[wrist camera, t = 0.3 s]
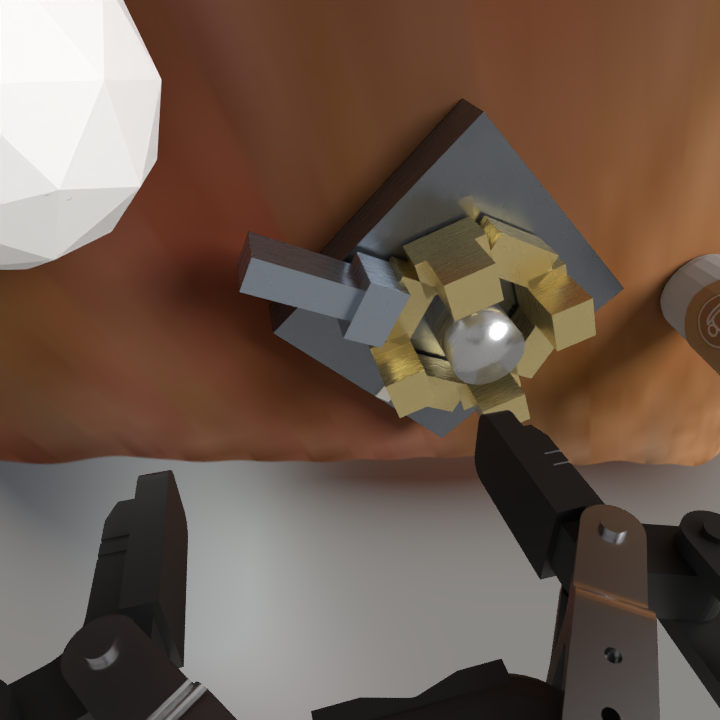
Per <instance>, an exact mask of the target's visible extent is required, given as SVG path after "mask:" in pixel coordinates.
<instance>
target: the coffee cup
mask: <svg viewBox="0 0 720 720" xmlns="http://www.w3.org/2000/svg"><path fill="white" fill-rule="evenodd" d="M660 304H661V309H662V312H663V316H664V317H665V319H666V321H667V322H668V323H670V324H671V325H672V326H673V327H674V328H675V329H676V330H677V331H678V332H679V333H680V334H681V335H682V336H683V337H684V338H685V339H686V340H687V341H688V343H689V345H690V346H691V347H692V348H693V349H694V350H695V351H696V352H697V353H698V354H699V355H700V356H701V357H702V358H703V359H704V360H705V361H706V362H707V363H708V364H709V365H710V366H711V367H712V368H713V369H714V370H715V371H716V372H717V373H718V374H719V375H720V254H706V255H703V256H700V257H697V258H695V259H693V260H691V261H689V262H688V263H686V264H685V265H684V266H682V267H681V268H680V269H679V270H678V271H677V272H676V273H675V274H674V275H673V276H672V277H671V278H670V280H669V281H668V282H667V284H666V285H665V287H664V290H663V292H662V294H661V300H660Z"/></svg>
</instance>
